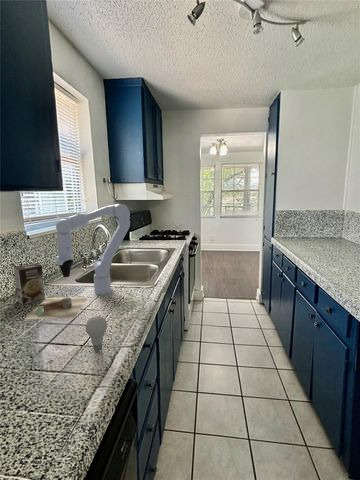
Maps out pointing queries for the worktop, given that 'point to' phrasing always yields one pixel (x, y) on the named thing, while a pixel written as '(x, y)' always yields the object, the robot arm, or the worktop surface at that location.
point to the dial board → (60, 312)
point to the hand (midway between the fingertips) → (66, 276)
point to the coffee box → (29, 283)
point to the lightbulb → (96, 331)
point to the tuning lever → (57, 304)
